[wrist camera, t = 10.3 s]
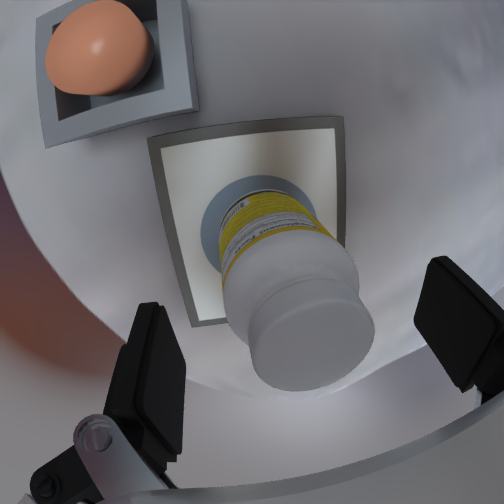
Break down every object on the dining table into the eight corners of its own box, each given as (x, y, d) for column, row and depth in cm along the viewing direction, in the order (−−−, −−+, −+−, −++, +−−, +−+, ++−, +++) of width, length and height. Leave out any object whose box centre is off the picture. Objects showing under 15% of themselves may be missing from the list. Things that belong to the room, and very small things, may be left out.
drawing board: (336, 116, 16) (345, 116, 14) (336, 295, 21) (342, 305, 20) (150, 137, 15) (145, 139, 14) (192, 318, 21) (191, 330, 20)
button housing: (187, 4, 11) (178, -33, 7) (199, 110, 15) (192, 107, 10) (77, 36, 11) (36, 18, 7) (87, 137, 14) (45, 148, 10)
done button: (151, 11, 9) (136, -13, 6) (158, 84, 11) (142, 76, 8) (74, 36, 9) (45, 23, 6) (80, 107, 11) (49, 107, 8)
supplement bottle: (309, 265, 18) (375, 385, 10) (224, 276, 18) (237, 414, 9) (309, 182, 16) (409, 266, 7) (212, 191, 16) (211, 297, 7)
